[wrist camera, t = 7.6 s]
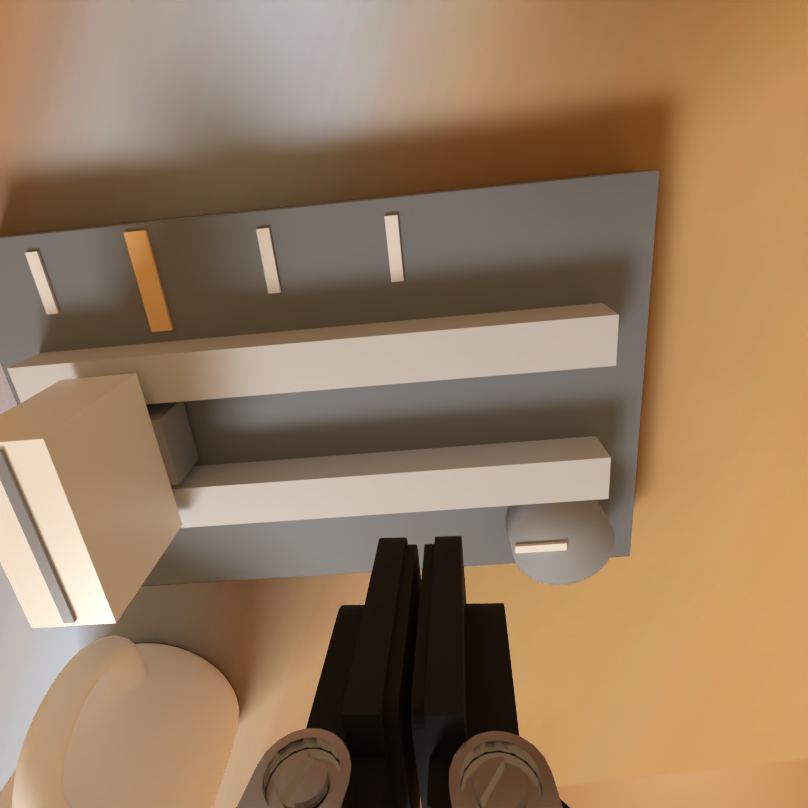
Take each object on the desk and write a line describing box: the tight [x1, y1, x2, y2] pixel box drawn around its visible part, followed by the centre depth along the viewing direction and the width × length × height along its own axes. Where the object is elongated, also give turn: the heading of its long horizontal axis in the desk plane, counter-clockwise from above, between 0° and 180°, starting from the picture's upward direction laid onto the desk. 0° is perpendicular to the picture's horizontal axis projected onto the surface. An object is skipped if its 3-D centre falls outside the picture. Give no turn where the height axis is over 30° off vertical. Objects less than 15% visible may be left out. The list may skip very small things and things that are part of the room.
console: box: [0, 170, 660, 586], centre depth 19 cm, size 22×14×4 cm, turn 96°
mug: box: [0, 635, 239, 808], centre depth 23 cm, size 12×8×10 cm
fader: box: [0, 373, 199, 628], centre depth 17 cm, size 3×6×6 cm, turn 6°
